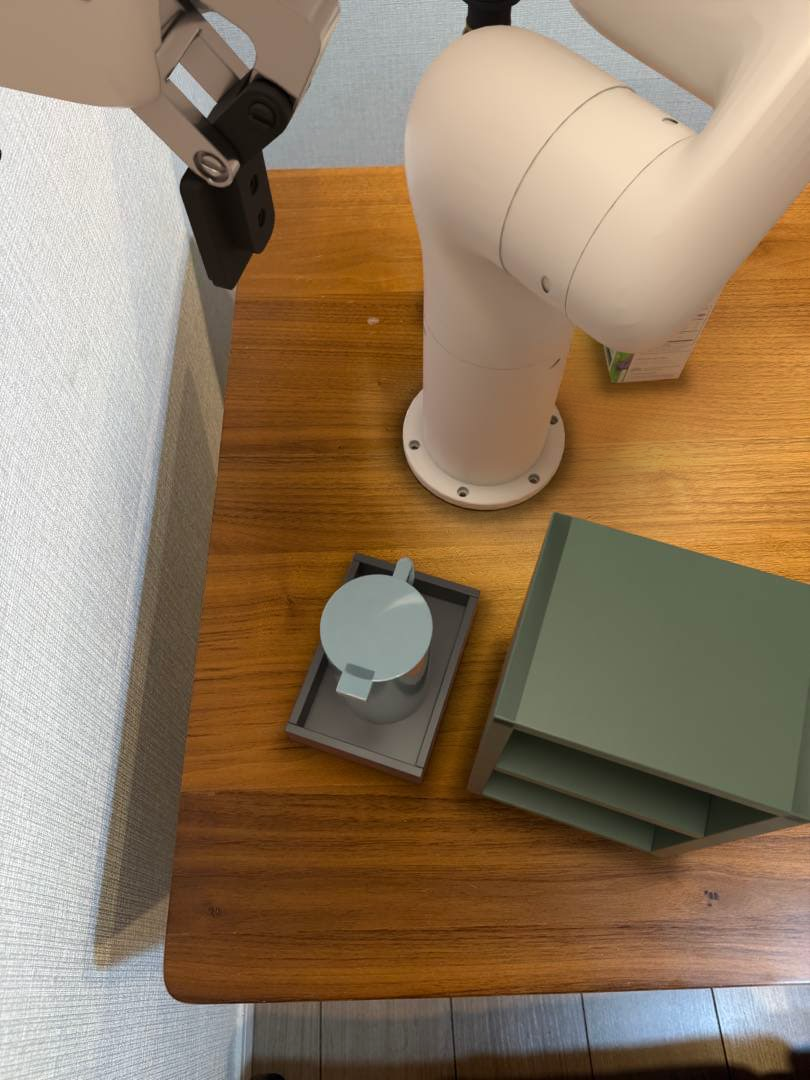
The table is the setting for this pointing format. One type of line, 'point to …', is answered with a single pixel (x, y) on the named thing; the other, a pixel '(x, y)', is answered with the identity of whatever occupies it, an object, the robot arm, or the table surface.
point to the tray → (410, 740)
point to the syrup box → (659, 354)
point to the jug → (379, 644)
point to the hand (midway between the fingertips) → (103, 219)
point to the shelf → (652, 695)
